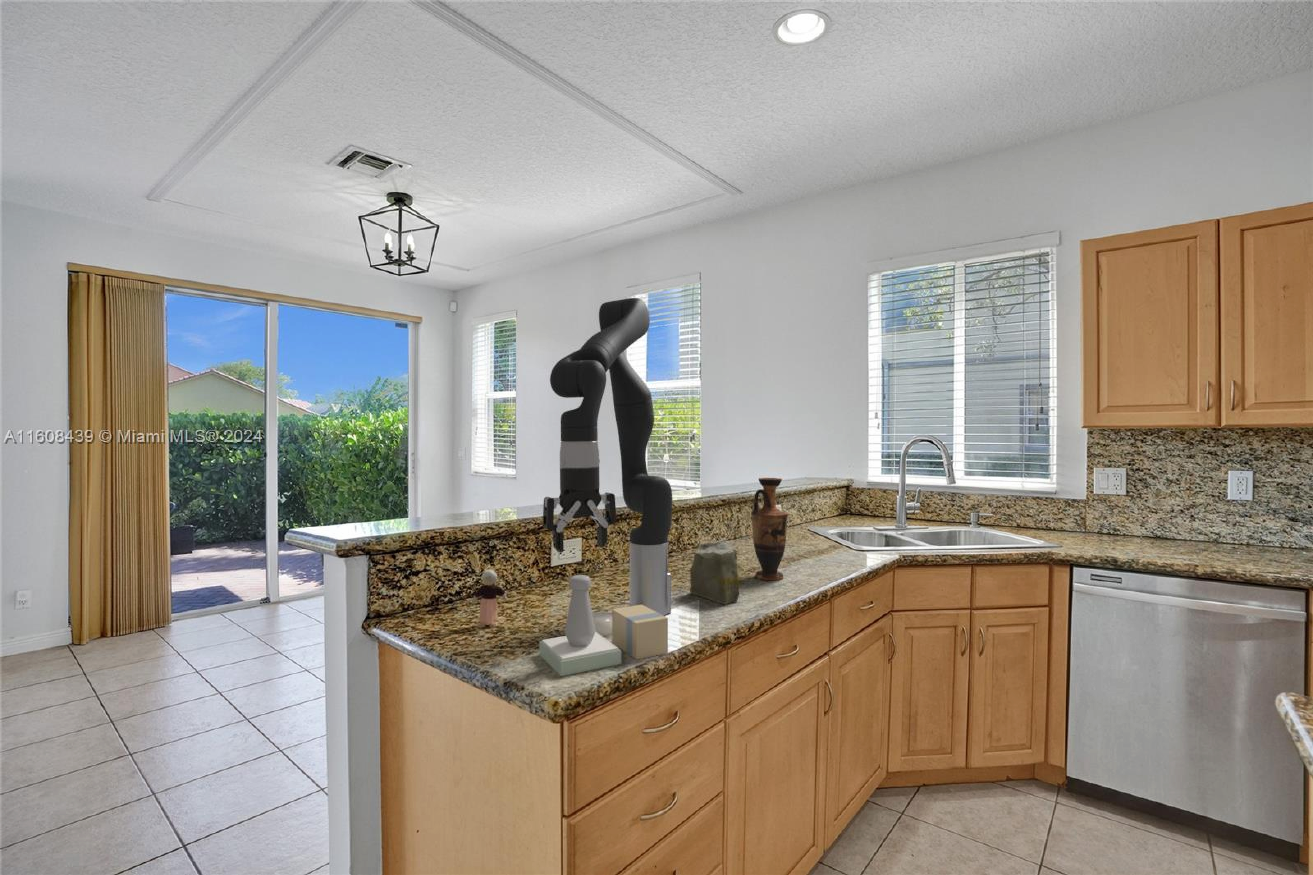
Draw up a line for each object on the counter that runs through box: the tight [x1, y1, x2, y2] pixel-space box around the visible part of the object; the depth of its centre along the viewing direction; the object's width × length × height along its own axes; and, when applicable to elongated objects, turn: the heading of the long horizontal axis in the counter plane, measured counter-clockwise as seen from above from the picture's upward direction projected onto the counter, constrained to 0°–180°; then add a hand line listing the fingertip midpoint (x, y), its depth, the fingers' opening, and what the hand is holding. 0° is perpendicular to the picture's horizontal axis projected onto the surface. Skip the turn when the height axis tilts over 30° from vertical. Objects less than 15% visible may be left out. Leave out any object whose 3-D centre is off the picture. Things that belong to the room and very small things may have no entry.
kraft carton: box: [611, 605, 669, 661], centre depth 124 cm, size 7×11×7 cm, turn 29°
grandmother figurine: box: [471, 569, 508, 629], centre depth 138 cm, size 8×4×13 cm, turn 112°
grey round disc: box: [592, 611, 612, 638], centre depth 134 cm, size 6×6×3 cm
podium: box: [539, 631, 622, 677], centre depth 118 cm, size 12×12×3 cm
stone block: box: [689, 538, 740, 605], centre depth 163 cm, size 10×15×15 cm
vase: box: [750, 477, 789, 581], centre depth 184 cm, size 11×11×30 cm
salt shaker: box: [564, 574, 595, 647], centre depth 118 cm, size 6×6×13 cm
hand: (580, 549), depth 117 cm, fingers open, 8 cm apart
